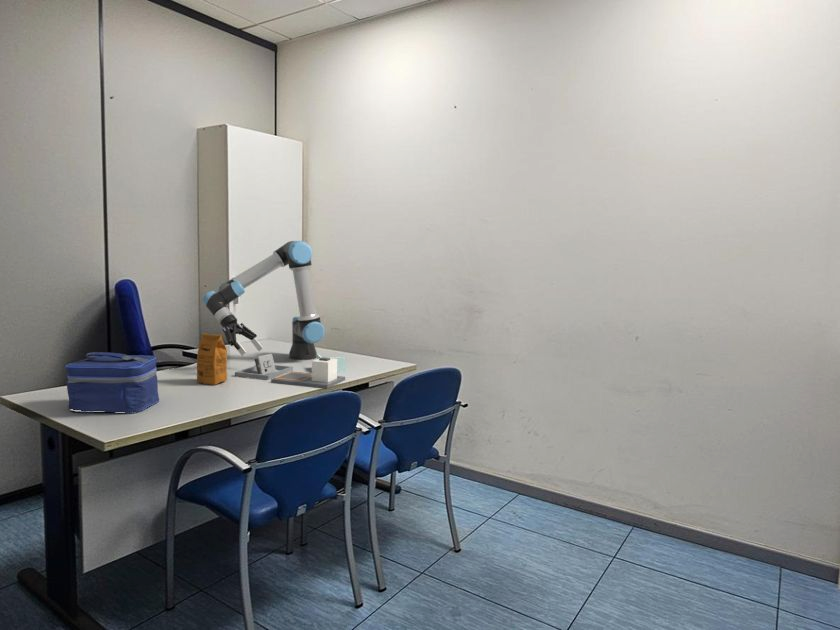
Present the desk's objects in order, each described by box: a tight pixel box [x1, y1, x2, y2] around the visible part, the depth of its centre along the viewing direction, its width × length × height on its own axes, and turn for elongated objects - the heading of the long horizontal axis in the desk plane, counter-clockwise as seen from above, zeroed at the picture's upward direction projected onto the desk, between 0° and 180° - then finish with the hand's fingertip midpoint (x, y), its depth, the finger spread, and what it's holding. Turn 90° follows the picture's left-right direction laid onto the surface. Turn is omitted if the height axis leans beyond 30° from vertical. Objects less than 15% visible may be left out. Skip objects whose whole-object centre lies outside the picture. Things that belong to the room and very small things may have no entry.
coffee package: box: [196, 332, 228, 386], centre depth 250 cm, size 10×12×22 cm
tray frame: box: [234, 364, 294, 381], centre depth 272 cm, size 22×18×2 cm
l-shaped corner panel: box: [316, 353, 346, 373], centre depth 283 cm, size 12×12×8 cm
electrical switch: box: [254, 353, 277, 375], centre depth 272 cm, size 9×5×9 cm, turn 152°
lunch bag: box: [65, 351, 160, 414], centre depth 210 cm, size 31×21×20 cm
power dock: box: [270, 356, 346, 389], centre depth 257 cm, size 18×28×11 cm, turn 72°
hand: (252, 351), depth 271 cm, fingers open, 13 cm apart
